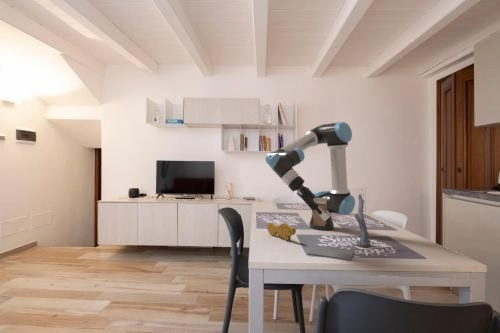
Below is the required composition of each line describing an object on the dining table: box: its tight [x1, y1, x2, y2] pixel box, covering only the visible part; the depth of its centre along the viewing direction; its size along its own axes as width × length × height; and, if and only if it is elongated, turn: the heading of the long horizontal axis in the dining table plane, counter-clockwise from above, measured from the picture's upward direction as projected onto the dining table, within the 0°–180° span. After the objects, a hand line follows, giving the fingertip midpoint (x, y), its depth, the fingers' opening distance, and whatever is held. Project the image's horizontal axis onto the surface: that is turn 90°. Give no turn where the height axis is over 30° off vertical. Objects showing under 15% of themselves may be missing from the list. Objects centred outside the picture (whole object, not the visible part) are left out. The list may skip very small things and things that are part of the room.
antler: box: [354, 193, 372, 248], centre depth 140 cm, size 12×8×25 cm
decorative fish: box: [266, 222, 297, 242], centre depth 150 cm, size 22×3×10 cm, turn 32°
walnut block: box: [313, 198, 327, 226], centre depth 127 cm, size 5×5×12 cm
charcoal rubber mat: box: [307, 244, 355, 261], centre depth 126 cm, size 14×18×1 cm
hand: (328, 218), depth 125 cm, fingers closed on walnut block, 5 cm apart
